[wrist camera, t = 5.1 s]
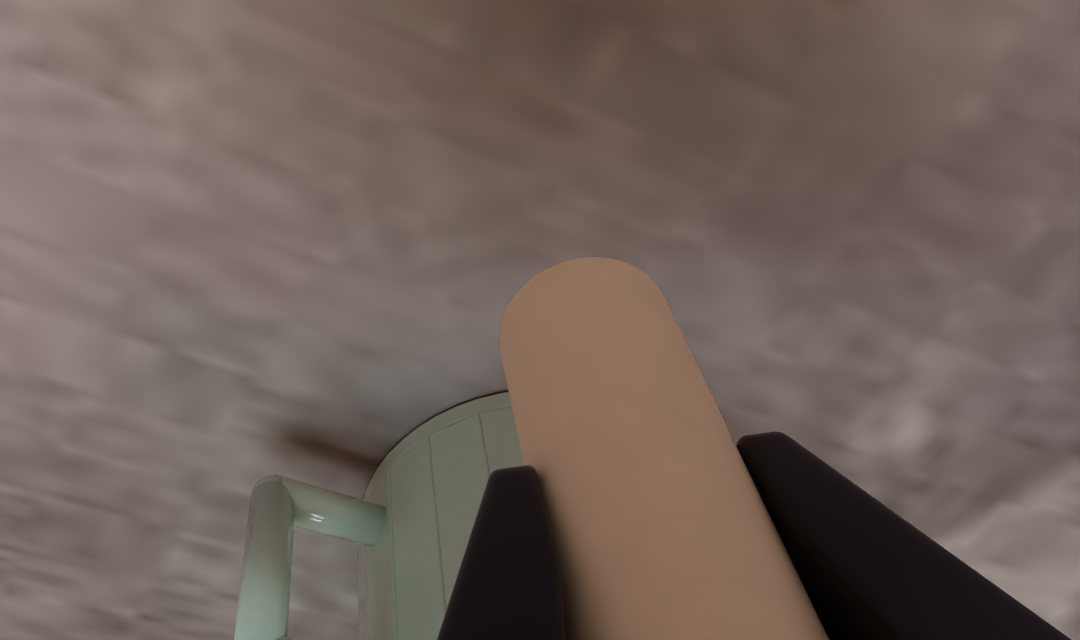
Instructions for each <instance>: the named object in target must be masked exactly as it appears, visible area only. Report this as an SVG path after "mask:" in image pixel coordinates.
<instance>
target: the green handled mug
mask: <svg viewBox="0 0 1080 640" xmlns="http://www.w3.org/2000/svg"><path fill="white" fill-rule="evenodd" d="M517 466H524V463H523V458H522V453H521V448H520V444H519V439H518V434H517V429H516V425H515V420H514V415H513V410H512V405H511V401H510V396H509V392H504V393H498V394H494V395H490V396H486V397H482V398H478V399H475V400H472V401H470V402H467V403H464V404H461V405H458V406H456V407H454V408H451V409H449V410H447V411H445V412H443V413H441V414H439V415H437V416H435V417H433V418H432V419H430V420H429V421H427V422H425V423H424V424H422V425H421V426H419V427H418V428H416V429H415V430H414V431H412V432H411V433H410V434H409V435H407V436H406V437H405V438H404V439H402V440H401V441H400V442H399V443H398V444H397V445H396V446H395V447H394V448H393V449H392V450H391V451H390V453H389V454H388V455H387V456H386V457H385V459H384V460H383V461H382V463H381V464H380V465H379V467H378V468H377V469H376V471H375V473H374V475H373V477H372V479H371V480H370V482H369V484H368V486H367V489H366V492H365V495H364V498H363V500H362V499H358V498H355V497H351V496H348V495H344V494H341V493H338V492H334V491H331V490H327V489H324V488H320V487H317V486H313V485H310V484H307V483H303V482H300V481H296V480H293V479H289V478H286V477H282V476H278V475H270V476H267V477H264V478H262V479H261V480H259V481H258V482H257V483H256V485H255V486H254V488H253V490H252V493H251V499H250V508H249V516H248V525H247V533H246V542H245V550H244V559H243V567H242V576H241V585H240V593H239V602H238V610H237V619H236V627H235V636H234V640H299V639H295V638H290V637H287V627H288V611H289V596H290V580H291V565H292V549H293V534H294V526H296V527H300V528H303V529H307V530H311V531H314V532H318V533H322V534H325V535H329V536H333V537H337V538H340V539H344V540H348V541H351V542H355V543H358V594H359V640H437V638H438V635H439V632H440V628H441V625H442V622H443V619H444V616H445V613H446V610H447V607H448V604H449V600H450V597H451V594H452V591H453V588H454V585H455V582H456V579H457V575H458V572H459V569H460V566H461V563H462V560H463V557H464V554H465V550H466V547H467V544H468V541H469V538H470V535H471V532H472V529H473V525H474V522H475V519H476V516H477V513H478V510H479V507H480V504H481V500H482V497H483V494H484V491H485V488H486V485H487V482H488V479H489V476H490V474H491V473H492V472H493V471H494V470H496V469H502V468H510V467H517Z"/></svg>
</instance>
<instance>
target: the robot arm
mask: <svg viewBox="0 0 1080 640" xmlns="http://www.w3.org/2000/svg"><path fill="white" fill-rule="evenodd" d="M736 446H737V448H738V450H739V453H740V455H741V457H742V459H743V461H744V463H745V465H746V467H747V469H748V471H749V473H750V475H751V478H752V480H753V482H754V484H755V486H756V488H757V490H758V492H759V494H760V496H761V498H762V500H763V502H764V505H765V507H766V509H767V511H768V513H769V515H770V517H771V519H772V521H773V523H774V525H775V527H776V530H777V532H778V534H779V536H780V538H781V540H782V542H783V544H784V546H785V548H786V550H787V552H788V554H789V557H790V559H791V561H792V563H793V565H794V567H795V569H796V571H797V573H798V575H799V577H800V579H801V582H802V584H803V586H804V588H805V590H806V592H807V594H808V596H809V598H810V600H811V602H812V604H813V606H814V609H815V611H816V613H817V615H818V617H819V619H820V621H821V623H822V625H823V627H824V629H825V631H826V634H827V636H828V638H829V640H1071V639H1070V638H1068V637H1067V636H1065V635H1064V634H1063V633H1061V632H1060V631H1058V630H1057V629H1056V628H1054V627H1053V626H1051V625H1050V624H1049V623H1047V622H1046V621H1045V620H1043V619H1042V618H1040V617H1039V616H1038V615H1036V614H1035V613H1033V612H1032V611H1031V610H1029V609H1028V608H1026V607H1025V606H1024V605H1022V604H1021V603H1019V602H1018V601H1017V600H1015V599H1014V598H1013V597H1011V596H1010V595H1008V594H1007V593H1006V592H1004V591H1003V590H1001V589H1000V588H999V587H997V586H996V585H994V584H993V583H992V582H990V581H989V580H987V579H986V578H985V577H983V576H982V575H981V574H979V573H978V572H976V571H975V570H974V569H972V568H971V567H969V566H968V565H967V564H965V563H964V562H962V561H961V560H960V559H958V558H957V557H956V556H954V555H953V554H951V553H950V552H949V551H947V550H946V549H944V548H943V547H942V546H940V545H939V544H937V543H936V542H935V541H933V540H932V539H930V538H929V537H928V536H926V535H925V534H924V533H922V532H921V531H919V530H918V529H917V528H915V527H914V526H912V525H911V524H910V523H908V522H907V521H905V520H904V519H903V518H901V517H900V516H898V515H897V514H896V513H894V512H893V511H892V510H890V509H889V508H887V507H886V506H885V505H883V504H882V503H880V502H879V501H878V500H876V499H875V498H873V497H872V496H871V495H869V494H868V493H867V492H865V491H864V490H862V489H861V488H860V487H858V486H857V485H855V484H854V483H853V482H851V481H850V480H848V479H847V478H846V477H844V476H843V475H841V474H840V473H839V472H837V471H836V470H835V469H833V468H832V467H830V466H829V465H828V464H826V463H825V462H823V461H822V460H821V459H819V458H818V457H816V456H815V455H814V454H812V453H811V452H809V451H808V450H807V449H805V448H804V447H803V446H801V445H800V444H798V443H797V442H796V441H794V440H793V439H791V438H790V437H789V436H787V435H785V434H783V433H781V432H769V433H761V434H754V435H746V436H743V437H742V438H740V439H739V440H738V443H737V445H736ZM437 640H566V634H565V616H564V597H563V581H562V572H561V564H560V560H559V555H558V550H557V546H556V542H555V539H554V535H553V531H552V527H551V524H550V520H549V516H548V512H547V509H546V505H545V501H544V497H543V494H542V490H541V486H540V482H539V479H538V475H537V472H536V470H535V468H534V467H532V466H530V465H524V466H517V467H510V468H502V469H496V470H494V471H493V472H492V473H491V474H490V476H489V479H488V482H487V485H486V488H485V491H484V494H483V497H482V500H481V504H480V507H479V510H478V513H477V516H476V519H475V522H474V525H473V529H472V532H471V535H470V538H469V541H468V544H467V547H466V550H465V554H464V557H463V560H462V563H461V566H460V569H459V572H458V575H457V579H456V582H455V585H454V588H453V591H452V594H451V597H450V600H449V604H448V607H447V610H446V613H445V616H444V619H443V622H442V625H441V628H440V632H439V635H438V638H437Z"/></svg>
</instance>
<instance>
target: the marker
mask: <svg viewBox="0 0 1080 640" xmlns="http://www.w3.org/2000/svg"><path fill="white" fill-rule="evenodd" d="M499 347H500V353H501V358H502V363H503V367H504V372H505V377H506V382H507V386H508V391H509V396H510V401H511V405H512V410H513V415H514V420H515V425H516V429H517V434H518V439H519V444H520V448H521V453H522V458H523V463H524V465H530V466H532V467H534V468H535V470H536V472H537V475H538V479H539V482H540V486H541V490H542V494H543V497H544V501H545V505H546V509H547V512H548V516H549V520H550V524H551V527H552V531H553V535H554V539H555V542H556V546H557V550H558V555H559V560H560V564H561V572H562V581H563V597H564V616H565V634H566V640H829V638H828V636H827V634H826V631H825V629H824V627H823V625H822V623H821V621H820V619H819V617H818V615H817V613H816V611H815V609H814V606H813V604H812V602H811V600H810V598H809V596H808V594H807V592H806V590H805V588H804V586H803V584H802V582H801V579H800V577H799V575H798V573H797V571H796V569H795V567H794V565H793V563H792V561H791V559H790V557H789V554H788V552H787V550H786V548H785V546H784V544H783V542H782V540H781V538H780V536H779V534H778V532H777V530H776V527H775V525H774V523H773V521H772V519H771V517H770V515H769V513H768V511H767V509H766V507H765V505H764V502H763V500H762V498H761V496H760V494H759V492H758V490H757V488H756V486H755V484H754V482H753V480H752V478H751V475H750V473H749V471H748V469H747V467H746V465H745V463H744V461H743V459H742V457H741V455H740V453H739V450H738V448H737V446H736V444H735V442H734V440H733V438H732V436H731V434H730V432H729V430H728V428H727V426H726V423H725V421H724V419H723V417H722V415H721V413H720V411H719V409H718V407H717V405H716V403H715V401H714V398H713V396H712V394H711V392H710V390H709V388H708V386H707V384H706V382H705V380H704V378H703V376H702V374H701V371H700V369H699V367H698V365H697V363H696V361H695V359H694V357H693V355H692V353H691V351H690V349H689V346H688V344H687V342H686V340H685V338H684V336H683V334H682V332H681V330H680V328H679V326H678V324H677V322H676V319H675V317H674V315H673V313H672V311H671V309H670V307H669V305H668V303H667V301H666V299H665V297H664V295H663V293H662V291H661V289H660V288H659V286H658V285H657V284H656V283H655V281H654V280H653V279H652V278H651V277H649V276H648V275H647V274H646V273H645V272H643V271H642V270H640V269H639V268H637V267H635V266H632V265H630V264H628V263H625V262H622V261H619V260H616V259H610V258H603V257H585V258H578V259H572V260H569V261H565V262H561V263H559V264H556V265H554V266H551V267H549V268H547V269H546V270H544V271H542V272H540V273H539V274H537V275H536V276H534V277H533V278H531V279H530V280H529V281H528V282H527V283H526V284H525V285H523V286H522V287H521V289H520V290H519V291H518V292H517V293H516V294H515V296H514V297H513V299H512V300H511V301H510V303H509V305H508V307H507V309H506V311H505V313H504V315H503V318H502V321H501V324H500V330H499Z"/></svg>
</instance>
